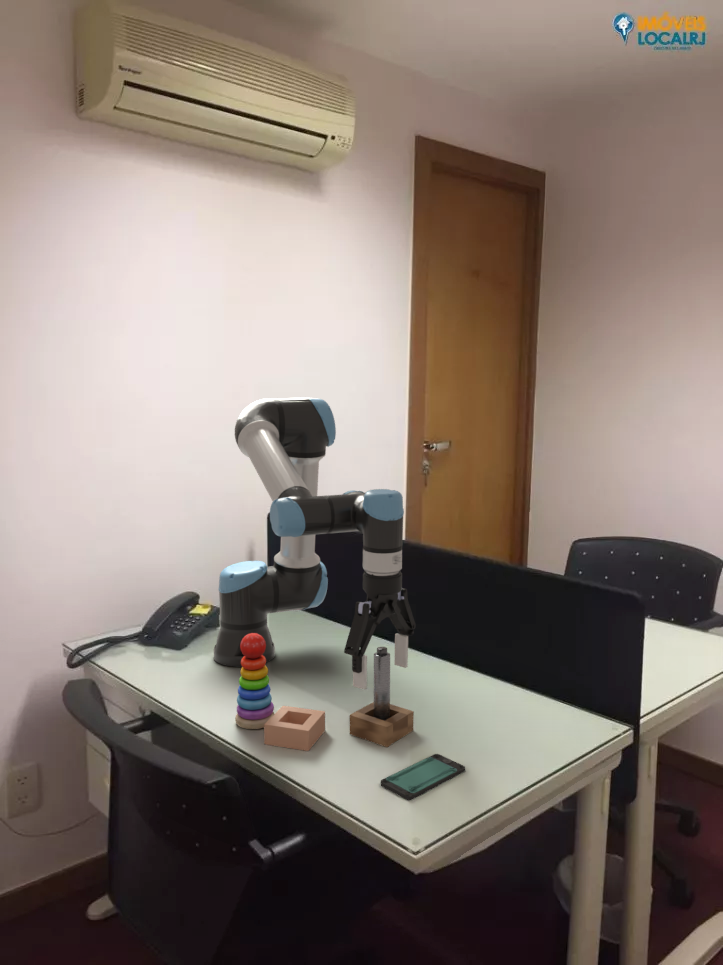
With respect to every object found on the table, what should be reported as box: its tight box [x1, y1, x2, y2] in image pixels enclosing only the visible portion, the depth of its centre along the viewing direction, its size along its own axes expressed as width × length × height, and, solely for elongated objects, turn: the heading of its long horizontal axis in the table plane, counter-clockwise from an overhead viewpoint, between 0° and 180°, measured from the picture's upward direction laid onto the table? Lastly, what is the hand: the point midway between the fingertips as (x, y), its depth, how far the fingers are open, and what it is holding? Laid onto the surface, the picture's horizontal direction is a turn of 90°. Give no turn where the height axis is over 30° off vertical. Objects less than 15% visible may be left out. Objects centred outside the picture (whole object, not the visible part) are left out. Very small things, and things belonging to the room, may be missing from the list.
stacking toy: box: [234, 633, 275, 730], centre depth 159 cm, size 8×8×19 cm
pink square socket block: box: [263, 705, 326, 752], centre depth 153 cm, size 9×9×4 cm
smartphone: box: [380, 753, 466, 801], centre depth 138 cm, size 7×1×15 cm
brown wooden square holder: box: [349, 701, 415, 748], centre depth 155 cm, size 9×9×4 cm
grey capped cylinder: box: [373, 646, 391, 721], centre depth 154 cm, size 3×3×17 cm
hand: (381, 676), depth 154 cm, fingers open, 13 cm apart
